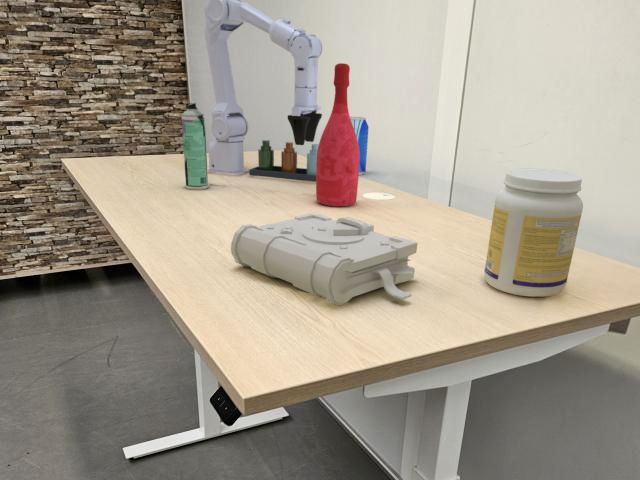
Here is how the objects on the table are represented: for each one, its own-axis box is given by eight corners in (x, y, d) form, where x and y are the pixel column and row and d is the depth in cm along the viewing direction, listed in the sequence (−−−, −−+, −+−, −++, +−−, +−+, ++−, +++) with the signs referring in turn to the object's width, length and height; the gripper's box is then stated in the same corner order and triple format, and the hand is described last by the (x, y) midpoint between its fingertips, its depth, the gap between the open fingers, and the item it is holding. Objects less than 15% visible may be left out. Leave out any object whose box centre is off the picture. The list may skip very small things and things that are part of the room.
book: (357, 323, 74) (361, 267, 71) (228, 267, 92) (226, 220, 88) (444, 288, 86) (450, 239, 83) (315, 245, 104) (316, 203, 101)
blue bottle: (304, 178, 159) (304, 144, 155) (309, 176, 162) (310, 142, 159) (319, 180, 157) (320, 146, 154) (324, 177, 161) (325, 144, 157)
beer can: (365, 178, 166) (369, 119, 159) (336, 176, 166) (339, 118, 159) (364, 173, 173) (368, 116, 167) (336, 171, 173) (339, 115, 167)
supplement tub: (576, 285, 90) (602, 175, 83) (545, 306, 81) (571, 186, 74) (503, 266, 97) (521, 164, 90) (468, 283, 89) (484, 172, 82)
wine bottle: (307, 203, 134) (311, 62, 121) (327, 196, 142) (332, 62, 129) (345, 209, 130) (353, 64, 117) (363, 202, 138) (372, 64, 125)
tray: (249, 177, 161) (249, 169, 160) (262, 171, 169) (262, 164, 168) (320, 184, 155) (321, 176, 154) (331, 178, 163) (331, 171, 162)
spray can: (210, 186, 148) (206, 103, 140) (204, 190, 143) (200, 104, 135) (189, 184, 148) (184, 102, 140) (183, 189, 143) (177, 103, 135)
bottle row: (255, 173, 163) (255, 140, 159) (262, 171, 166) (262, 138, 163) (293, 177, 159) (293, 143, 156) (299, 174, 163) (299, 142, 159)
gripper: (311, 89, 139) (309, 147, 144) (329, 87, 151) (327, 141, 157) (284, 87, 141) (283, 145, 146) (304, 86, 153) (303, 139, 159)
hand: (304, 143), depth 152 cm, fingers open, 7 cm apart
